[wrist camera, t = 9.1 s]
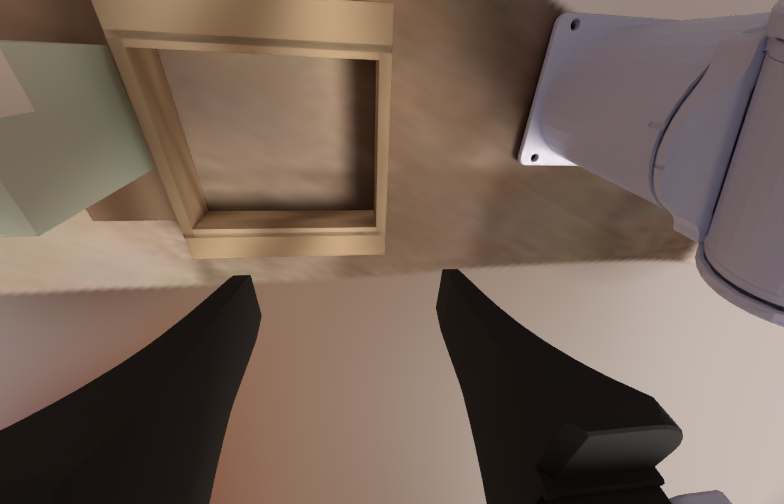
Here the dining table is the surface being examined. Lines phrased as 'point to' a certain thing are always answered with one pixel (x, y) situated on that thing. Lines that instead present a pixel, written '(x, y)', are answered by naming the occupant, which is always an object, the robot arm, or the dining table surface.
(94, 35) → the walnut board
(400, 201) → the dining table surface
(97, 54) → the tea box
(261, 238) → the tan square frame
